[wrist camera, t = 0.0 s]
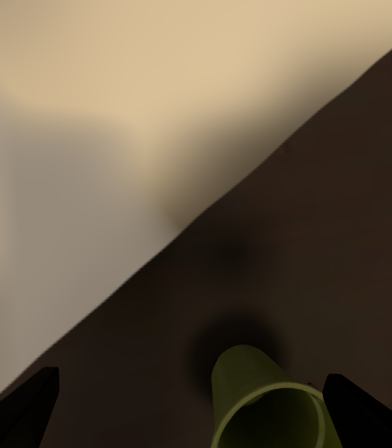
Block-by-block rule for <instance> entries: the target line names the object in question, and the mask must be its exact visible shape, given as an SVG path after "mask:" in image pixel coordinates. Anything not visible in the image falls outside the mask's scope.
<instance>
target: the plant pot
mask: <svg viewBox="0 0 392 448" xmlns="http://www.w3.org/2000/svg"><path fill="white" fill-rule="evenodd" d="M211 382H212V393H213V405H214V417H215V430H214V435H213V438H212V442H211V446H210V448H343V447H342V445H341V442H340V440H339V437H338V435H337V432H336V430H335V427H334V425H333V422H332V420H331V417H330V415H329V413H328V410H327V408H326V405H325V403H324V400H323V395H322V392H320V391H319V390H317V389H316V388H314V387H312V386H310V385H308V384H305V383H302V382H299V381H297V380H294V379H293V378H292V377H291V376H290V375H288V374H287V373H286V372H285V371H284V370H283V369H282V368H280V367H279V366H278V365H277V364H276V363H275V362H274V361H273V360H272V359H270V358H269V357H268V356H267V355H266V354H265V353H264V352H262V351H261V350H260V349H258V348H255V347H253V346H250V345H237V346H233V347H231V348H229V349H227V350H226V351H224V352H223V353H222V354H221V355H220V356H219V358H218V360H217V362H216V364H215V366H214V368H213V371H212V375H211Z"/></svg>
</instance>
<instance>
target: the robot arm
mask: <svg viewBox="0 0 392 448" xmlns="http://www.w3.org/2000/svg"><path fill="white" fill-rule="evenodd" d="M58 394H59V369H58V367H43V368H42V369H40V370H39V371H38V372H36V373H35V374H34V375H33V376H31V377H30V378H29V379H28V380H26V381H25V382H24V383H23V384H21V385H20V386H19V387H17V388H16V389H15V390H14V391H12V392H11V393H10V394H9V395H7V396H6V397H5V398H4V399H2V400H1V401H0V448H39V446H40V443H41V441H42V438H43V435H44V432H45V430H46V427H47V424H48V422H49V419H50V416H51V413H52V411H53V408H54V405H55V402H56V400H57V397H58ZM322 395H323V400H324V403H325V405H326V408H327V410H328V413H329V415H330V417H331V420H332V422H333V425H334V427H335V430H336V432H337V435H338V437H339V440H340V442H341V445H342V447H343V448H392V410H390V409H389V408H387V407H386V406H385V405H383V404H382V403H380V402H379V401H378V400H376V399H375V398H374V397H372V396H371V395H369V394H368V393H367V392H365V391H364V390H362V389H361V388H360V387H358V386H357V385H355V384H354V383H353V382H351V381H350V380H348V379H347V378H346V377H344V376H343V375H341V374H329V375H328V376H327V378H326V382H325V385H324V388H323V393H322Z"/></svg>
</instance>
